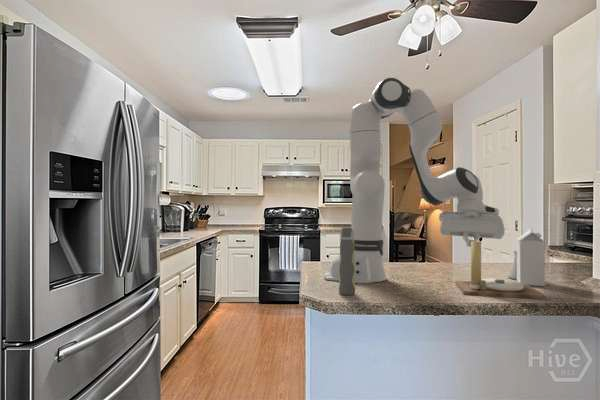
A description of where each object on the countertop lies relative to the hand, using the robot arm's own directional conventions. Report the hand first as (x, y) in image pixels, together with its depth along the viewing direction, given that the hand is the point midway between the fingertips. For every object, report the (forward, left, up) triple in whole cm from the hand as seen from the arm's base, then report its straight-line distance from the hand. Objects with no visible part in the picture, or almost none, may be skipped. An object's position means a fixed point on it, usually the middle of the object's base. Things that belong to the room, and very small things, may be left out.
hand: (471, 245), depth 125 cm
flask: (+19, +17, -13) cm, 29 cm away
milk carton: (+20, +8, -13) cm, 26 cm away
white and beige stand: (+5, -7, -12) cm, 15 cm away
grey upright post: (-39, -23, -13) cm, 47 cm away
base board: (+6, -6, -13) cm, 16 cm away
